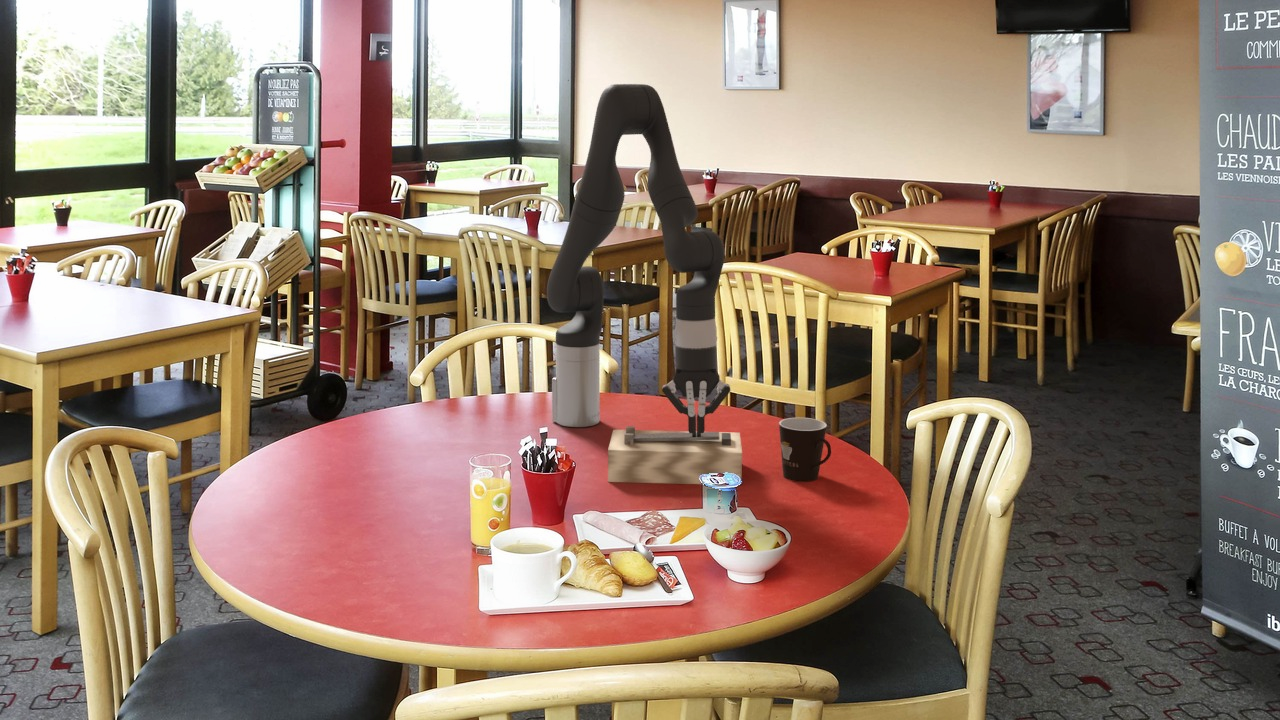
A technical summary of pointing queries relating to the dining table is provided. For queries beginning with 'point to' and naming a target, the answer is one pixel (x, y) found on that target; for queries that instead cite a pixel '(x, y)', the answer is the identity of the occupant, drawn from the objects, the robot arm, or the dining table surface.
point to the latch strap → (675, 436)
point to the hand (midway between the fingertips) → (696, 435)
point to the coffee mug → (802, 448)
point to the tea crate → (671, 458)
